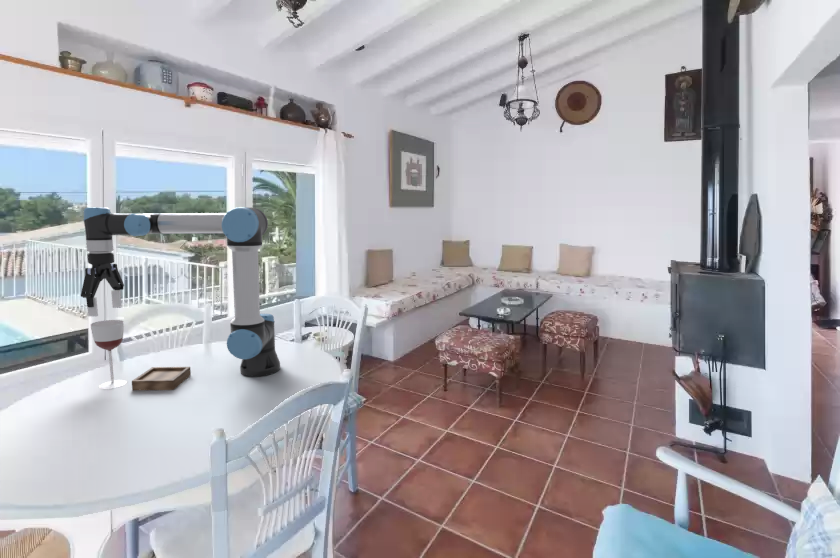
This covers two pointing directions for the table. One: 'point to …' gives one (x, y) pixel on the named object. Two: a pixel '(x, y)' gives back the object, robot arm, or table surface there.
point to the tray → (161, 378)
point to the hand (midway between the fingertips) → (105, 311)
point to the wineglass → (109, 344)
